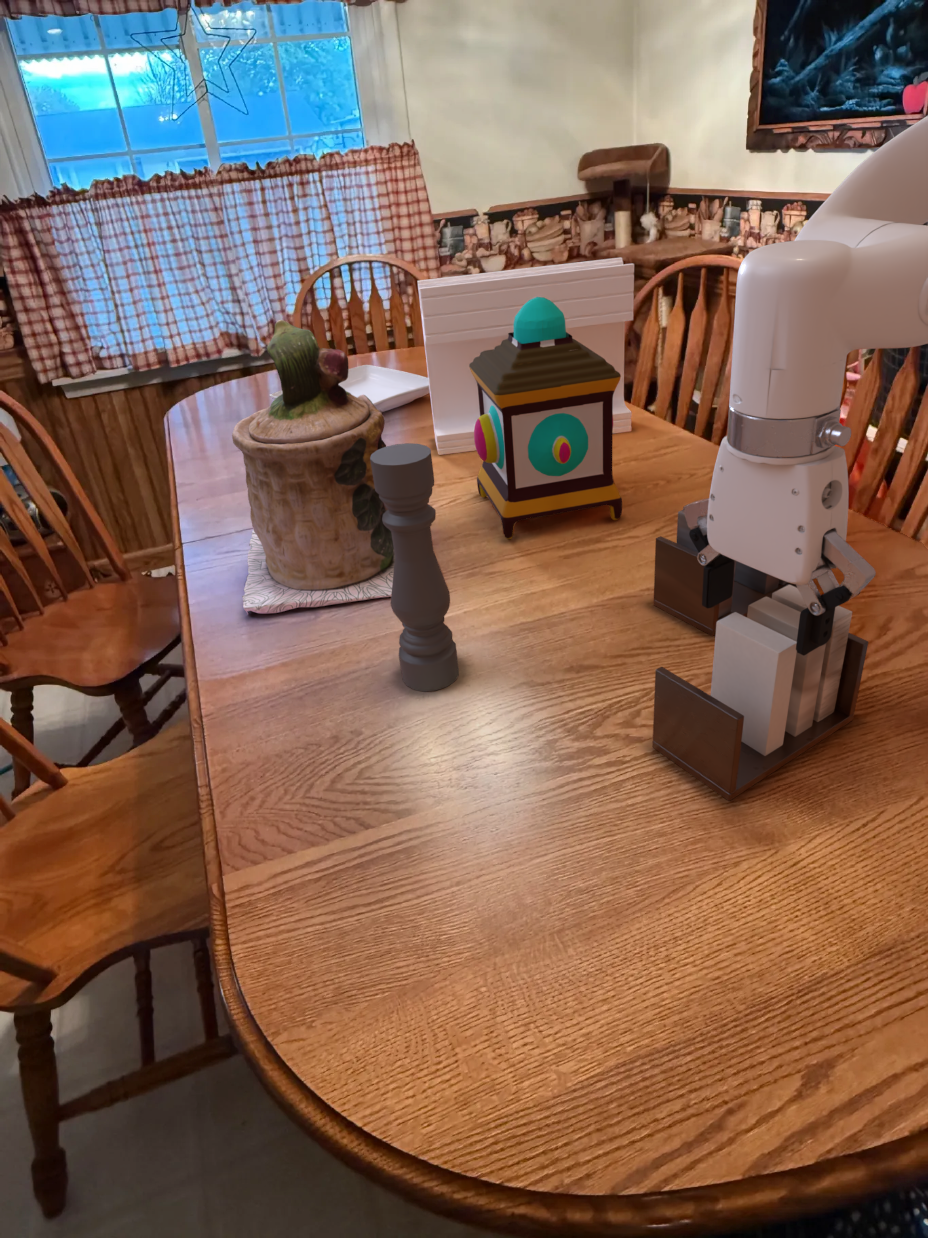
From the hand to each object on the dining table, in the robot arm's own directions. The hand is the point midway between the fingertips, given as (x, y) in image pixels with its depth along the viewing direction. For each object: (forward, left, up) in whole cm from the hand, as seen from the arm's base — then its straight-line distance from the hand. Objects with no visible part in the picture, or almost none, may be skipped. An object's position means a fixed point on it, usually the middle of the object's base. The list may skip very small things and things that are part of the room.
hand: (761, 623), depth 69 cm
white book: (0, 0, -12) cm, 12 cm away
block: (-37, -80, -13) cm, 89 cm away
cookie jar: (+13, -59, -13) cm, 62 cm away
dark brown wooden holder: (-19, -18, -12) cm, 29 cm away
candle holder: (+17, -28, -13) cm, 35 cm away
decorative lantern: (-19, -53, -13) cm, 58 cm away
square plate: (-24, -125, -13) cm, 128 cm away
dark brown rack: (-1, 0, -12) cm, 13 cm away
